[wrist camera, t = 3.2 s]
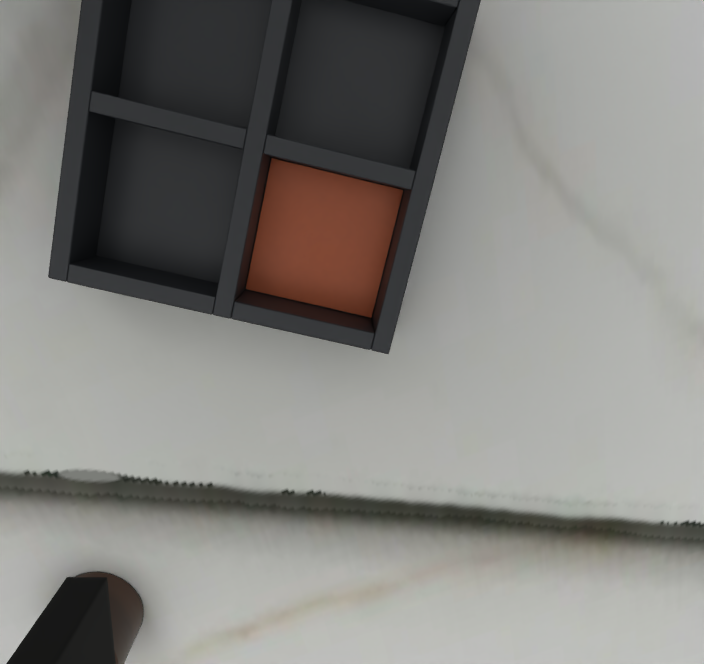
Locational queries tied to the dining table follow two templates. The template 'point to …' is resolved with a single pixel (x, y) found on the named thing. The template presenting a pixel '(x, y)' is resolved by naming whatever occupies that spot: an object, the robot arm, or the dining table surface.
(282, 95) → the grid
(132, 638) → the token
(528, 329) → the dining table surface
